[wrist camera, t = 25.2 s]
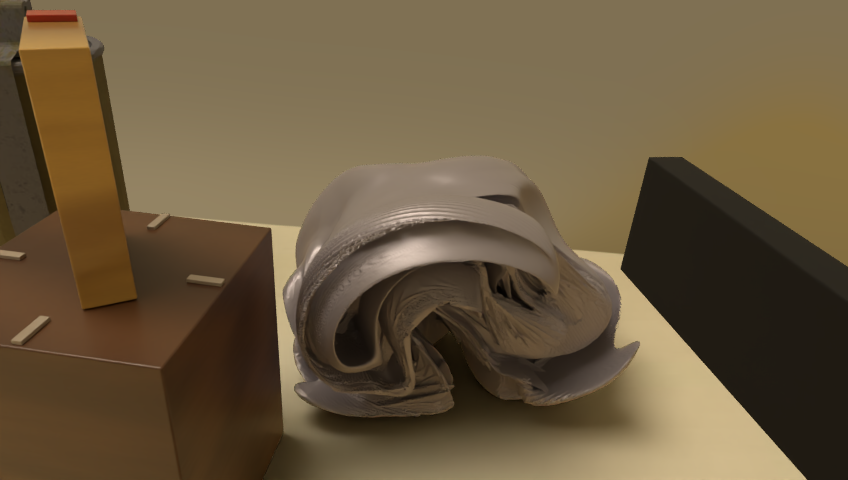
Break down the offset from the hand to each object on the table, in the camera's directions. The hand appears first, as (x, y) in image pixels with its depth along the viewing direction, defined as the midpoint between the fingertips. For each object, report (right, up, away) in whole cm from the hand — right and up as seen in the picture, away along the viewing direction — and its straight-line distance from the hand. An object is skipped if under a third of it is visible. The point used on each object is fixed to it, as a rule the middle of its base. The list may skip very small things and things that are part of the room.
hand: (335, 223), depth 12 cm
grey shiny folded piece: (+3, -9, +28) cm, 30 cm away
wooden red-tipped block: (-11, -1, +12) cm, 16 cm away
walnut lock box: (-12, -13, +18) cm, 25 cm away
